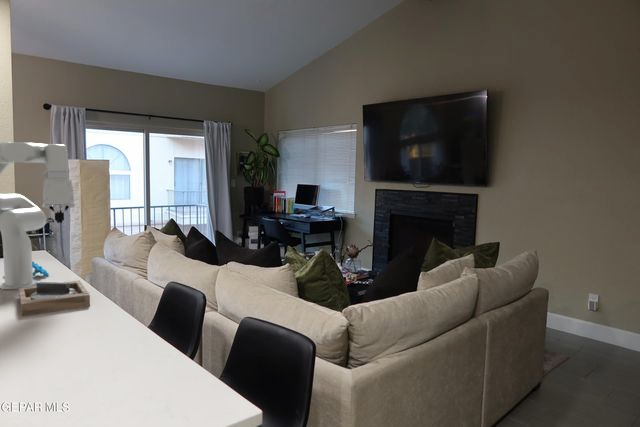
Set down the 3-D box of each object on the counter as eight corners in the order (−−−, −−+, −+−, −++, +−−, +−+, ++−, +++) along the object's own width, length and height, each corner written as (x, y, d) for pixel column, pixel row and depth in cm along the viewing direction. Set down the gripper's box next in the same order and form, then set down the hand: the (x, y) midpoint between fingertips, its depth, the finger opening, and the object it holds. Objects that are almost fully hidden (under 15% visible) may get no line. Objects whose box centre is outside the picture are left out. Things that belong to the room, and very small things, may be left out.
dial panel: (19, 298, 163) (18, 287, 163) (80, 290, 175) (79, 279, 174) (22, 315, 144) (21, 303, 143) (90, 305, 156) (90, 294, 155)
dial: (21, 302, 152) (20, 287, 152) (47, 291, 166) (47, 277, 166) (60, 303, 152) (59, 288, 151) (83, 292, 166) (83, 278, 165)
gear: (48, 275, 192) (28, 260, 189) (37, 285, 190) (17, 270, 187) (52, 273, 202) (34, 258, 199) (42, 283, 200) (23, 268, 198)
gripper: (35, 176, 164) (37, 224, 166) (80, 176, 173) (82, 222, 174) (34, 175, 170) (36, 222, 172) (77, 175, 179) (79, 220, 180)
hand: (59, 222), depth 173 cm, fingers closed
